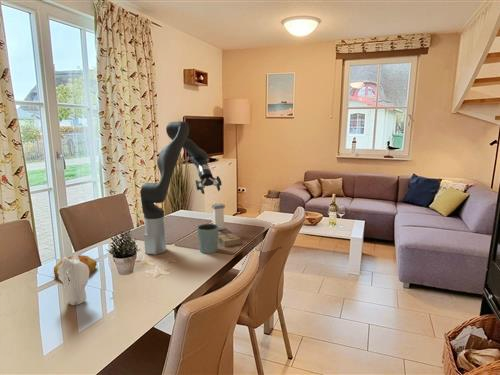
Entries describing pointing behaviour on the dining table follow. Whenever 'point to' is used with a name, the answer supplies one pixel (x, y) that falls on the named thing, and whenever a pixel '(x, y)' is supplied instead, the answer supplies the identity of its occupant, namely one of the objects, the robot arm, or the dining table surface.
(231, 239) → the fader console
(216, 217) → the white tall block
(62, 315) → the dining table surface
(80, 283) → the shell sculpture
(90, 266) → the croissant
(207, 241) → the teal cylindrical container
